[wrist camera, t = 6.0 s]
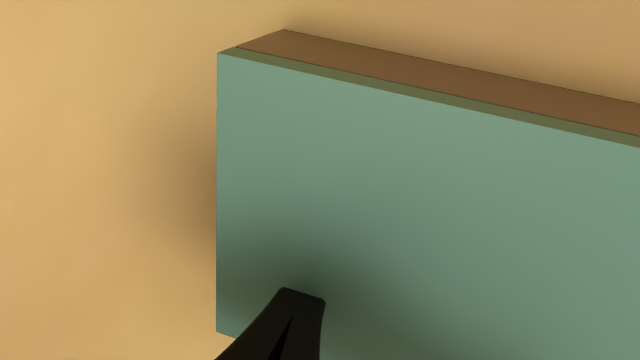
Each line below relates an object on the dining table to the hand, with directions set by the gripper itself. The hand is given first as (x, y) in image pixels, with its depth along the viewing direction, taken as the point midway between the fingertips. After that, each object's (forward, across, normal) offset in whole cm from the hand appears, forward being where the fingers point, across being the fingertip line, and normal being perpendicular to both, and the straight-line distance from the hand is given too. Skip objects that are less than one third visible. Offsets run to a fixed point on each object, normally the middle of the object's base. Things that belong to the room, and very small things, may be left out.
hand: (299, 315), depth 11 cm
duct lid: (+1, -5, -2) cm, 6 cm away
